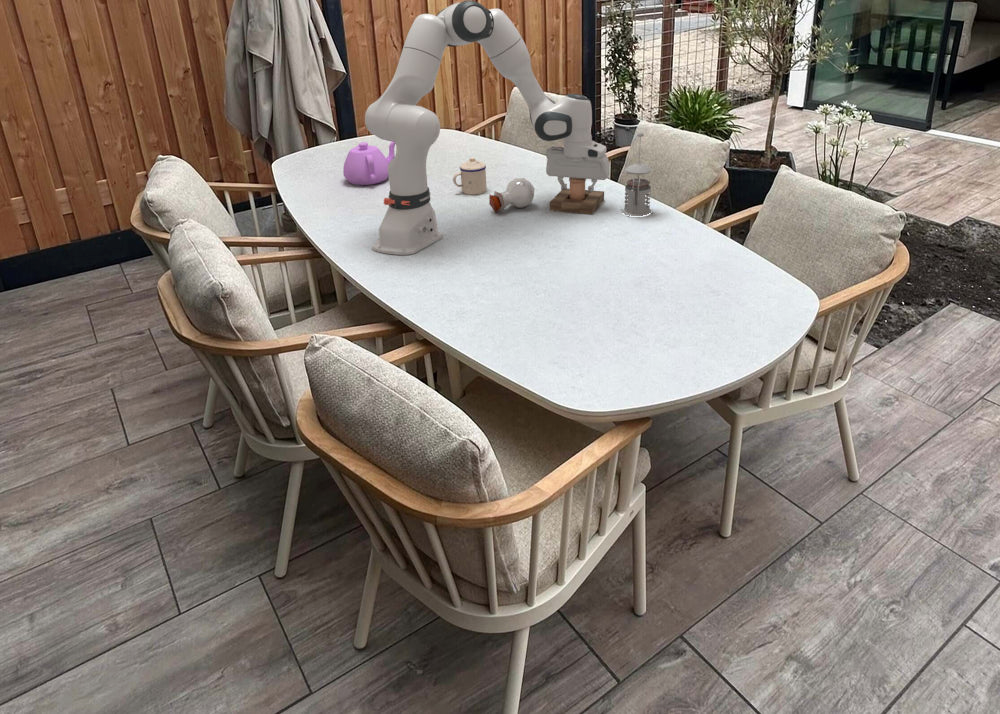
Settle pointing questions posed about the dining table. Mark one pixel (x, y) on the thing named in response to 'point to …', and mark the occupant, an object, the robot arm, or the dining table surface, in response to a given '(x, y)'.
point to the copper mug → (577, 188)
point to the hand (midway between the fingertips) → (577, 190)
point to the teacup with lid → (472, 177)
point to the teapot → (367, 164)
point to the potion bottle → (513, 195)
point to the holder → (577, 202)
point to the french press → (637, 189)
